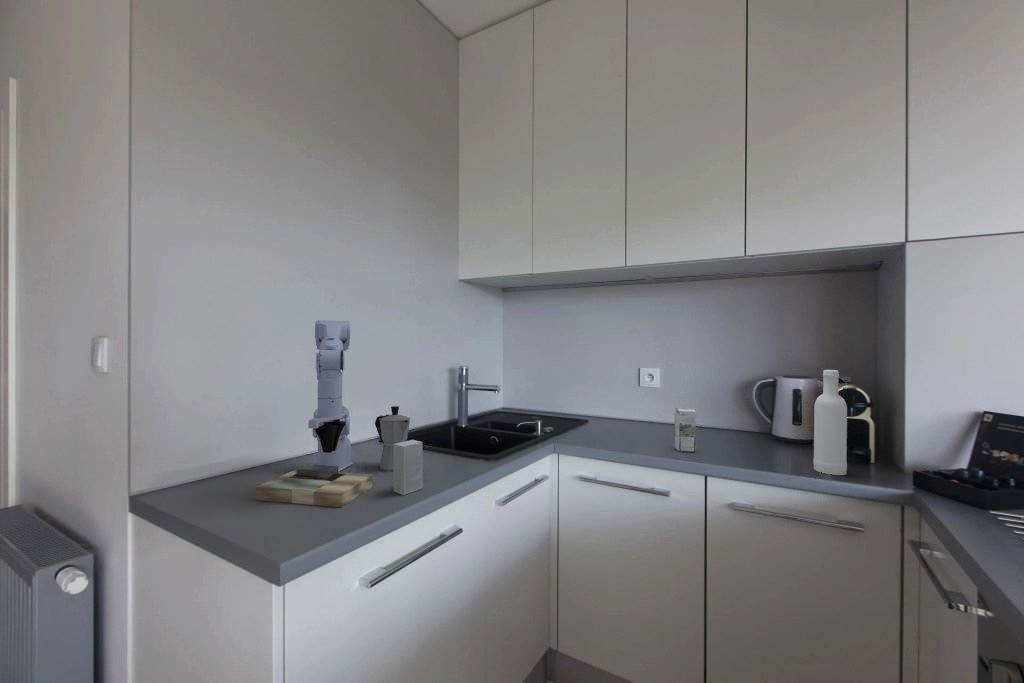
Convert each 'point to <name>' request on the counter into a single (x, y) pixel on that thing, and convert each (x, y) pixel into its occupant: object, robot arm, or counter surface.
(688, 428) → the syrup box
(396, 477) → the skincare box
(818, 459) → the bottle
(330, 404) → the robot arm
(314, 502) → the bamboo board
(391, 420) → the coffee maker
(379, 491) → the counter surface
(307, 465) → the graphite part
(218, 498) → the counter surface
